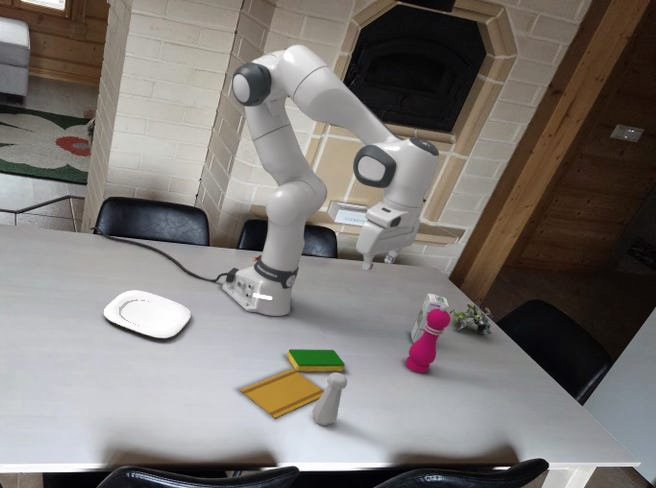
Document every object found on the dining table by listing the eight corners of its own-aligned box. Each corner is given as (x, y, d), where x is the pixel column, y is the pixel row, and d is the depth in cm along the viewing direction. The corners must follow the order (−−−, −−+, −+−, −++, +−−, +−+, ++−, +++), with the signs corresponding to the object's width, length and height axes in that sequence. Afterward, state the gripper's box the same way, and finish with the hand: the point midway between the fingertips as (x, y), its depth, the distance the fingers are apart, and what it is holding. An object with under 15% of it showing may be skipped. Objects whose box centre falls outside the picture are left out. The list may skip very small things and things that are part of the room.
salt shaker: (307, 411, 155) (323, 367, 148) (329, 413, 156) (347, 369, 149) (313, 427, 150) (331, 382, 143) (337, 429, 151) (355, 385, 144)
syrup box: (430, 347, 194) (450, 305, 186) (411, 342, 194) (430, 300, 186) (428, 338, 198) (447, 297, 190) (409, 333, 199) (427, 292, 191)
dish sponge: (286, 356, 175) (288, 348, 173) (331, 356, 179) (334, 349, 177) (296, 371, 169) (298, 364, 168) (342, 371, 173) (345, 364, 172)
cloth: (239, 390, 157) (239, 389, 157) (292, 369, 170) (292, 368, 169) (275, 418, 151) (275, 417, 150) (327, 394, 163) (327, 393, 163)
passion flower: (470, 346, 211) (502, 333, 201) (446, 341, 206) (478, 327, 196) (463, 315, 215) (494, 300, 205) (440, 309, 210) (470, 294, 200)
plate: (94, 320, 172) (94, 315, 171) (129, 290, 190) (129, 285, 189) (168, 348, 168) (169, 342, 167) (196, 314, 185) (198, 309, 184)
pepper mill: (428, 364, 185) (457, 304, 174) (428, 377, 179) (458, 315, 168) (403, 356, 186) (431, 296, 175) (403, 368, 180) (431, 307, 169)
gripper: (410, 202, 157) (390, 254, 165) (362, 211, 145) (342, 266, 152) (433, 212, 153) (411, 264, 161) (385, 222, 141) (364, 278, 148)
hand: (377, 266), depth 156 cm, fingers open, 8 cm apart
